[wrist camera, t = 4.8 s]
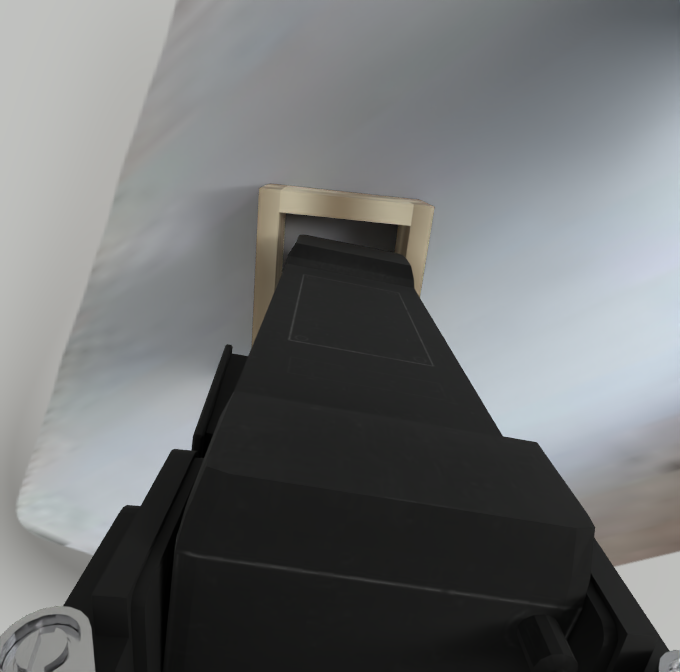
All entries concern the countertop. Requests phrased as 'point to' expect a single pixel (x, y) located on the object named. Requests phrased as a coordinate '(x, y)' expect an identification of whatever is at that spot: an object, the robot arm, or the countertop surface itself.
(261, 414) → the portable radio
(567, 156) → the countertop surface
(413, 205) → the wooden pocket
